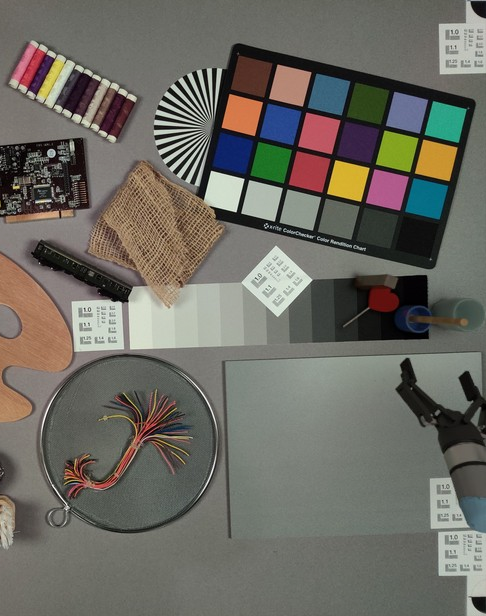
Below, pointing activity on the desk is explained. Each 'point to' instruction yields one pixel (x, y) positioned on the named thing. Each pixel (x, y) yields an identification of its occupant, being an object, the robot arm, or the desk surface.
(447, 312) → the cup
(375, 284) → the block
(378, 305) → the lollipop
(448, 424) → the robot arm
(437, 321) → the stick
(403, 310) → the bowl
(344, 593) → the desk surface
